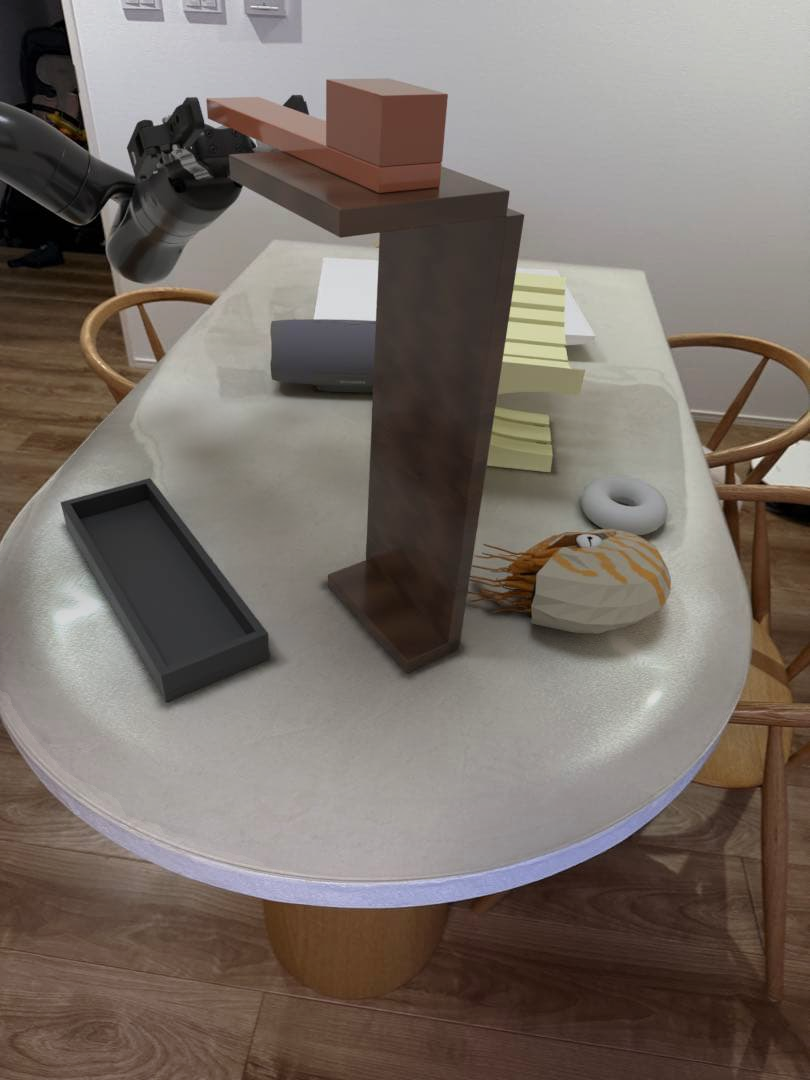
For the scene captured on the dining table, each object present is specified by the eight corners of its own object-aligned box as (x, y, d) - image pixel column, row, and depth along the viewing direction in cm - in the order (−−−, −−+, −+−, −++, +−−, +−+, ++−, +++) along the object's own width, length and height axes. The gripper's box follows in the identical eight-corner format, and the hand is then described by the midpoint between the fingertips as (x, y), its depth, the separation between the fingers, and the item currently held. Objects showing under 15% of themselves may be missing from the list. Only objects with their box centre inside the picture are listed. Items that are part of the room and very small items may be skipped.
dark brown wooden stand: (259, 611, 74) (228, 154, 49) (377, 566, 80) (400, 143, 56) (334, 708, 65) (340, 209, 40) (459, 648, 71) (528, 188, 47)
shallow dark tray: (66, 526, 82) (60, 502, 80) (154, 501, 87) (150, 477, 85) (166, 702, 64) (161, 676, 62) (269, 658, 69) (268, 633, 67)
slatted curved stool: (437, 385, 115) (449, 266, 104) (543, 396, 114) (565, 277, 104) (420, 495, 91) (433, 354, 80) (554, 509, 91) (585, 370, 80)
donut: (580, 487, 95) (575, 531, 87) (585, 463, 93) (581, 506, 85) (662, 502, 94) (665, 548, 86) (669, 478, 92) (673, 523, 84)
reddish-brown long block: (207, 118, 59) (201, 43, 56) (259, 116, 61) (256, 43, 58) (378, 194, 44) (382, 95, 41) (440, 187, 46) (448, 94, 43)
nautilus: (439, 640, 73) (457, 552, 85) (673, 668, 70) (656, 572, 82) (443, 572, 68) (461, 490, 81) (692, 600, 65) (671, 509, 78)
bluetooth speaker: (425, 375, 118) (430, 312, 112) (431, 403, 110) (437, 337, 104) (275, 371, 115) (273, 306, 109) (271, 399, 108) (268, 332, 102)
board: (313, 350, 122) (312, 322, 119) (323, 282, 148) (323, 257, 145) (589, 363, 125) (595, 336, 122) (552, 294, 151) (557, 270, 148)
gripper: (98, 144, 67) (142, 54, 53) (248, 137, 74) (322, 55, 60) (124, 233, 68) (174, 168, 54) (269, 217, 75) (345, 156, 61)
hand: (251, 109), depth 57 cm, fingers open, 8 cm apart
